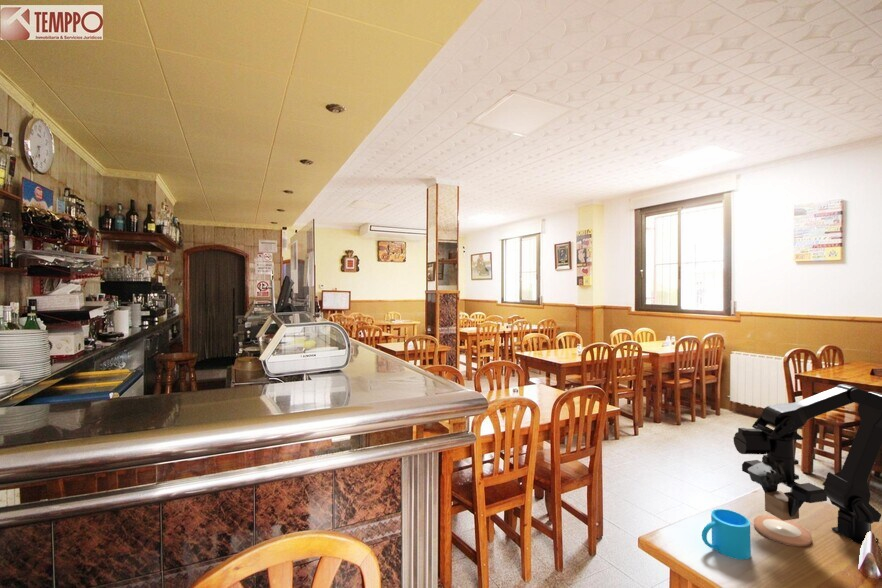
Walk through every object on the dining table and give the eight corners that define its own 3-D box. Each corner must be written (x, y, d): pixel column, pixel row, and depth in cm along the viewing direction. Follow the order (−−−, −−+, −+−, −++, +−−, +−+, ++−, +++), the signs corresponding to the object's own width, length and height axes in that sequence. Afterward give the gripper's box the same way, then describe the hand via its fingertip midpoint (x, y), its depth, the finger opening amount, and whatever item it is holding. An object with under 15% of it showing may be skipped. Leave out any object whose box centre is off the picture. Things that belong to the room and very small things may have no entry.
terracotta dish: (778, 517, 115) (778, 512, 115) (824, 543, 103) (824, 538, 103) (742, 522, 113) (742, 517, 113) (785, 549, 101) (785, 544, 101)
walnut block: (780, 508, 111) (779, 490, 111) (799, 518, 106) (798, 500, 106) (765, 510, 110) (764, 492, 110) (783, 520, 105) (782, 502, 105)
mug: (732, 537, 106) (731, 507, 106) (759, 557, 98) (758, 525, 98) (691, 541, 105) (690, 511, 105) (715, 562, 97) (714, 530, 97)
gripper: (725, 443, 116) (726, 496, 116) (790, 472, 97) (792, 535, 97) (757, 440, 117) (759, 492, 117) (828, 468, 99) (829, 529, 99)
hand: (781, 510), depth 108 cm, fingers closed on walnut block, 5 cm apart
